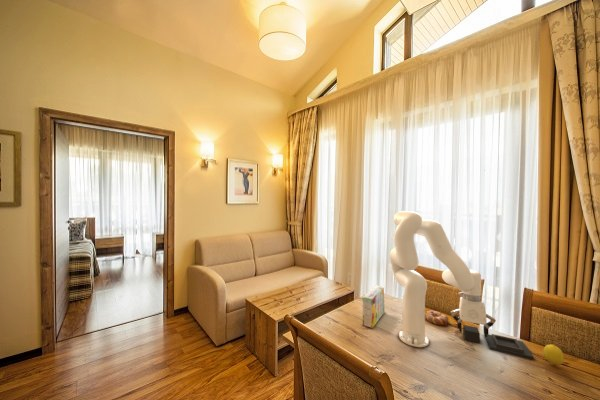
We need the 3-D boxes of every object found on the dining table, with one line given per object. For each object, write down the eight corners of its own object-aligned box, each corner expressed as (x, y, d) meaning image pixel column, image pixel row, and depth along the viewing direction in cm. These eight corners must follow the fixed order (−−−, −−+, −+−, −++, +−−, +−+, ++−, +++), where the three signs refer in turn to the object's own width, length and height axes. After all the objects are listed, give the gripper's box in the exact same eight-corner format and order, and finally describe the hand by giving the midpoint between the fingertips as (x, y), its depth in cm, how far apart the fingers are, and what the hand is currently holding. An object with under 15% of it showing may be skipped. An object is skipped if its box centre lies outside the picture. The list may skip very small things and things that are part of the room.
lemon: (566, 371, 89) (566, 350, 89) (546, 366, 92) (546, 346, 92) (560, 363, 94) (560, 343, 94) (541, 358, 97) (541, 339, 97)
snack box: (375, 310, 139) (375, 284, 139) (384, 312, 136) (384, 286, 136) (362, 325, 122) (362, 296, 122) (372, 328, 119) (372, 299, 119)
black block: (479, 343, 107) (479, 333, 107) (464, 339, 109) (464, 330, 109) (477, 336, 112) (477, 327, 112) (463, 333, 114) (463, 324, 114)
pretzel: (419, 317, 131) (419, 310, 131) (433, 314, 134) (433, 307, 134) (438, 328, 119) (438, 320, 119) (453, 324, 123) (453, 317, 123)
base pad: (533, 359, 96) (533, 354, 96) (490, 349, 102) (490, 344, 102) (522, 343, 106) (522, 339, 106) (484, 335, 113) (484, 330, 113)
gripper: (450, 296, 112) (451, 332, 111) (497, 303, 103) (498, 342, 103) (449, 291, 118) (450, 325, 118) (492, 296, 110) (493, 333, 110)
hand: (472, 332), depth 111 cm, fingers open, 9 cm apart
